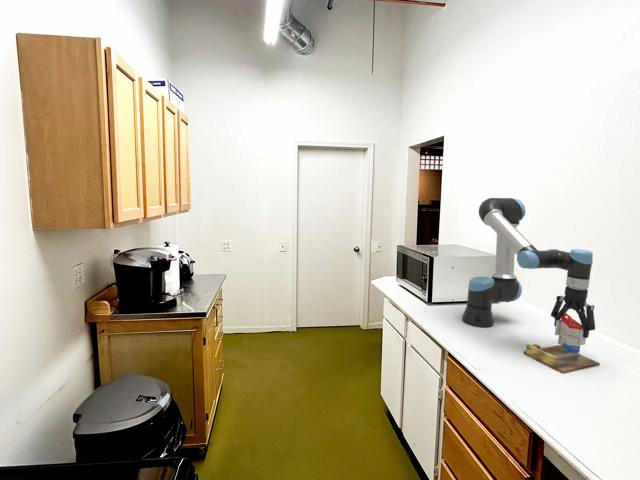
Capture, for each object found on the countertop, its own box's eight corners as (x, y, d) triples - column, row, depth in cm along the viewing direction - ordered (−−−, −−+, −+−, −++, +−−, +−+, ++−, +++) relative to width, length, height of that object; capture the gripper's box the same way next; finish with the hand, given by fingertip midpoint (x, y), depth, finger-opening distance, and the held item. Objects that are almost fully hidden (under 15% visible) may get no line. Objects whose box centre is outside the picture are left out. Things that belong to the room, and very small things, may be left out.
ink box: (579, 353, 144) (585, 319, 141) (566, 352, 145) (571, 317, 142) (569, 344, 152) (574, 311, 150) (556, 343, 153) (561, 310, 151)
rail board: (523, 353, 150) (524, 343, 149) (558, 347, 157) (559, 337, 157) (562, 373, 134) (564, 362, 134) (599, 365, 142) (601, 354, 141)
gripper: (544, 281, 153) (538, 330, 157) (599, 296, 133) (591, 352, 136) (557, 279, 156) (550, 328, 159) (612, 294, 135) (604, 349, 139)
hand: (569, 339), depth 148 cm, fingers closed on ink box, 9 cm apart
